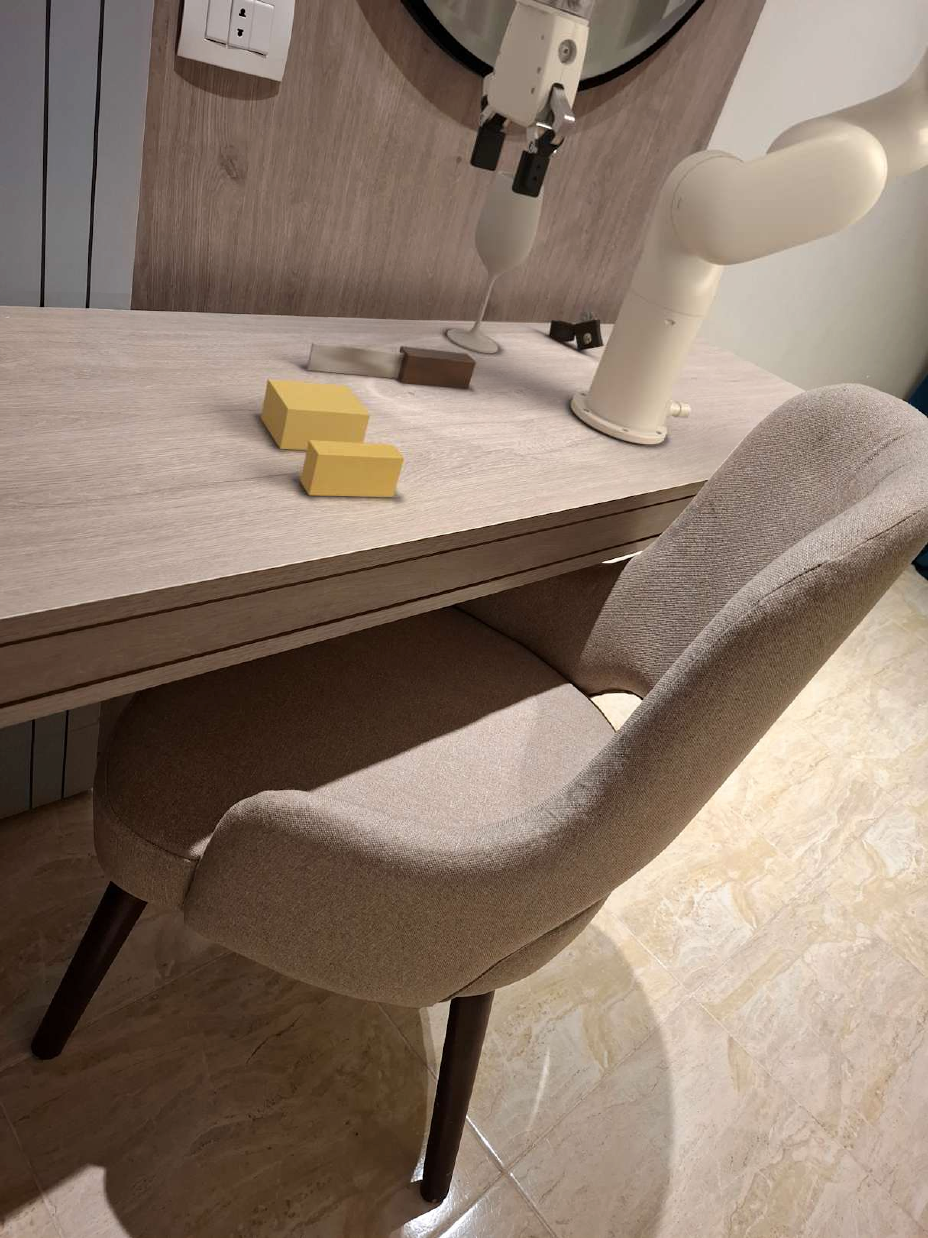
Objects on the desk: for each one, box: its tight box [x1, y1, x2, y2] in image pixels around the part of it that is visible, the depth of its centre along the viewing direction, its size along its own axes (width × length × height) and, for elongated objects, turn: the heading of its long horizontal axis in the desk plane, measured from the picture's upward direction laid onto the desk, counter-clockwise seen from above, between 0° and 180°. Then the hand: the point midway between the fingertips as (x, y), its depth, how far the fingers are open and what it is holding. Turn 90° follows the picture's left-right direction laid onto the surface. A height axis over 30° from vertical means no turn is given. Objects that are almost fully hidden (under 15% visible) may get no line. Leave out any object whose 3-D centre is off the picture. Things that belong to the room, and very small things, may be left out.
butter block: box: [260, 378, 371, 451], centre depth 84 cm, size 8×6×4 cm
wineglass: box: [446, 170, 545, 354], centre depth 118 cm, size 8×8×21 cm
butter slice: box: [299, 440, 405, 498], centre depth 78 cm, size 8×2×4 cm, turn 117°
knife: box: [306, 342, 477, 390], centre depth 103 cm, size 20×2×3 cm, turn 117°
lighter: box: [548, 311, 604, 352], centre depth 134 cm, size 8×2×5 cm
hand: (502, 180), depth 98 cm, fingers open, 9 cm apart
